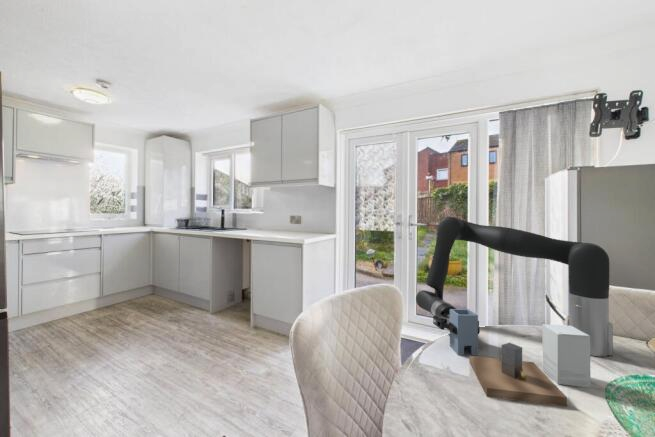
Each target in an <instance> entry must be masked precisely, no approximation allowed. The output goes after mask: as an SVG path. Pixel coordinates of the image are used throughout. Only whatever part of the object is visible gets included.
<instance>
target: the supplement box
mask: <svg viewBox="0 0 655 437" xmlns="http://www.w3.org/2000/svg"><path fill="white" fill-rule="evenodd" d="M541 329H542V330H541V331H542V333H541V334H542V339H541V340H542V372H543V373H546V375H547V376H549V377H550V378H551V379H552V380H553V381H554V382H555V383H556V384H558V385H562V386H563V385H565V386H573V387H582V388H583V387H584V388H591V355H590V336H589V335H587V334H585V333H584V332H582V331H580V330H578V329H576V328H575V327H573V326H569V325H565V324H563V325H562V324H547V323H545V324H544V323H543V324H542V328H541Z"/></svg>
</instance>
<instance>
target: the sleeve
mask: <svg viewBox="0 0 655 437" xmlns="http://www.w3.org/2000/svg"><path fill="white" fill-rule="evenodd" d="M478 316H479V315H478V314H477V313H475V312H474V311H473V310H470V309H469V308H456V309H450V322H451V323H452V324H454V325H455V326H456V327H457V334H454V333H452V332H451V331H450V330H449V347H450V348H451V349H452V350H453V351H454V352H455V354H456V355H458V356H465V348H468V350H470V356H479V334H478V321H479V317H478Z"/></svg>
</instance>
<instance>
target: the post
mask: <svg viewBox="0 0 655 437" xmlns="http://www.w3.org/2000/svg"><path fill="white" fill-rule="evenodd" d="M501 359H502V373H504V374H506V375H508V376H510V377H512V378H514V379H515V378H517V377H520V379H521V380H524V381H525V380H526V371H525V370H522V361H523V347H522V346H520V345H517V344H514V343H511V342H507V343H503V344H501Z"/></svg>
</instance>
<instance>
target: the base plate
mask: <svg viewBox="0 0 655 437" xmlns="http://www.w3.org/2000/svg"><path fill="white" fill-rule="evenodd" d="M469 364H470V367H471V368H472V370H473V372H474V374H475V376H476V379H477V380H478V382H479V384H480V386H481V388H482V390H483V392H484V394H485V396H486V397H488V398H489V397H490V398H496V399H504V400H512V401H520V402H530V403H536V404H545V405H551V406H559V407H560V406H561V407H568V396H566V394H564V393H563V392H562V390H560V389H559V387H558V386H557V385H556V384H555V383H554V382H553V381H552V380H551V379H550V378H549V377H548V375H547V374H545V372H544V371H543V370H541V369H540V368H539V366H538V365H536V363H535V362H533V361H526V360H524V361H523V360H522V370H525V371H526V380H525V381H524V380H521V379H520V377H517V378H515V379H514V378H512V377H510V376H508V375H506V374H504V373H502V358H494V357H492V358H491V357H484V356H476V355H469Z"/></svg>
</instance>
